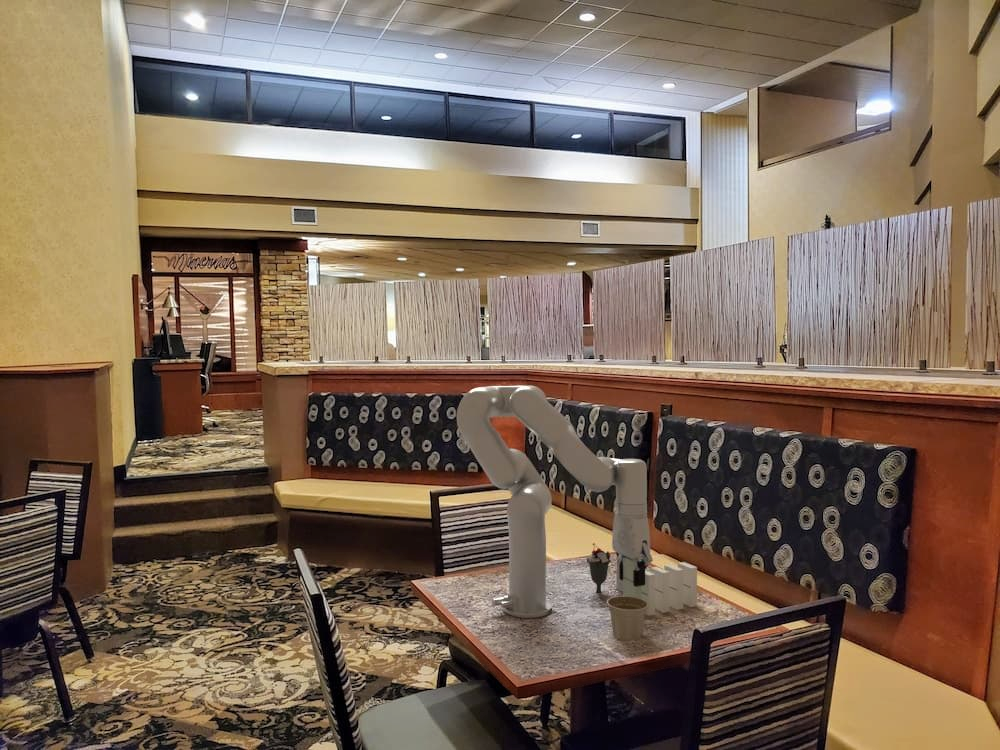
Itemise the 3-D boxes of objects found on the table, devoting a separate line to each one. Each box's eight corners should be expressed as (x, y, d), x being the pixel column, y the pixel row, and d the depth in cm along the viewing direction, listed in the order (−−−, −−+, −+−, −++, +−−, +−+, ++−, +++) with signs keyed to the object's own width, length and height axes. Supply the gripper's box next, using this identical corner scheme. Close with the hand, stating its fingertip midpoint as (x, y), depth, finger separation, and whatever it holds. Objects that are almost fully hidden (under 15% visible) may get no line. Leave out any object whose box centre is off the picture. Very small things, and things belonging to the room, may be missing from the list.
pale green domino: (635, 603, 165) (634, 562, 165) (623, 596, 170) (622, 557, 169) (642, 601, 166) (641, 561, 166) (629, 595, 170) (629, 556, 170)
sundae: (584, 599, 182) (584, 544, 182) (589, 591, 188) (589, 538, 188) (608, 602, 180) (608, 546, 180) (613, 594, 186) (613, 540, 186)
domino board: (632, 627, 163) (632, 622, 163) (610, 615, 171) (610, 610, 171) (705, 612, 173) (705, 607, 173) (681, 601, 181) (681, 596, 181)
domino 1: (648, 615, 167) (648, 575, 167) (635, 609, 172) (636, 569, 171) (655, 614, 168) (655, 574, 168) (642, 607, 173) (642, 568, 172)
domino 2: (662, 612, 169) (663, 573, 169) (650, 606, 174) (650, 567, 173) (669, 611, 170) (669, 571, 170) (656, 605, 175) (656, 566, 174)
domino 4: (690, 607, 173) (691, 568, 173) (677, 600, 178) (677, 563, 177) (696, 605, 174) (697, 567, 174) (683, 599, 178) (683, 562, 178)
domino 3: (677, 609, 171) (677, 570, 171) (664, 603, 176) (664, 565, 175) (683, 608, 172) (683, 569, 172) (670, 602, 176) (670, 564, 176)
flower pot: (623, 628, 162) (623, 592, 162) (656, 640, 155) (656, 603, 155) (598, 639, 156) (598, 602, 156) (631, 652, 149) (631, 613, 149)
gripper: (599, 504, 173) (600, 575, 174) (640, 517, 158) (641, 595, 158) (623, 501, 177) (623, 571, 177) (666, 514, 161) (666, 590, 162)
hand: (632, 581), depth 168 cm, fingers closed on pale green domino, 4 cm apart
